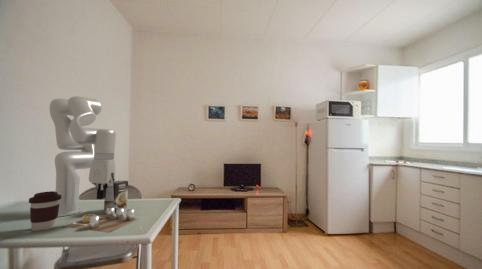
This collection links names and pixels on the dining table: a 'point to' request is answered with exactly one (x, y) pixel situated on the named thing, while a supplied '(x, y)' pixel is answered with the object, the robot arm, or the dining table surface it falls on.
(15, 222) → the dining table surface
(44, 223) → the coffee cup
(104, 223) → the board
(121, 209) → the spacer
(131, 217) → the spacer
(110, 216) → the spacer
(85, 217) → the nut
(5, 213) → the dining table surface
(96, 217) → the spacer
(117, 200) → the coffee box
